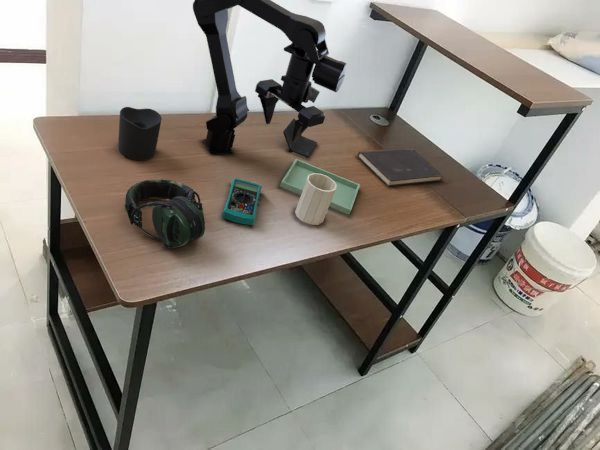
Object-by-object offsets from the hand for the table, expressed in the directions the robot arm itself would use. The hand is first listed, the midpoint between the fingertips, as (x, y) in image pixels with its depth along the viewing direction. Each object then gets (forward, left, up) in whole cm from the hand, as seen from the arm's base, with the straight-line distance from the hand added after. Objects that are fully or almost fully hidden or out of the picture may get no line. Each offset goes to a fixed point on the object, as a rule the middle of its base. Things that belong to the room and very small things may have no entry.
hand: (280, 132), depth 131 cm
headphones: (-34, -17, -12) cm, 40 cm away
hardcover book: (+46, -2, -12) cm, 48 cm away
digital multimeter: (-14, -13, -12) cm, 23 cm away
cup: (+2, -19, -12) cm, 23 cm away
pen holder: (-32, +11, -12) cm, 36 cm away
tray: (+11, -9, -12) cm, 19 cm away
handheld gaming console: (+16, +12, -12) cm, 23 cm away
